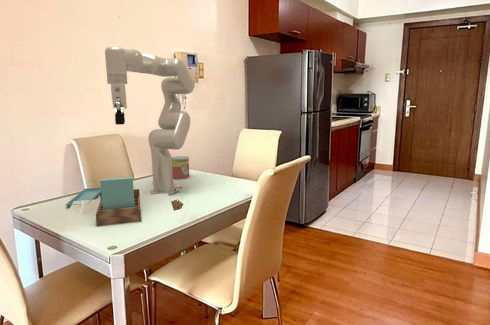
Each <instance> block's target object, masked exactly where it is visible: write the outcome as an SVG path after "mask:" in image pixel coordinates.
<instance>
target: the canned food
mask: <svg viewBox="0 0 490 325" xmlns="http://www.w3.org/2000/svg"><path fill="white" fill-rule="evenodd" d="M171 157H172V177H173V179H174V180H175V181H182V180H181V179H184V180H188V179H190V178H189V177H190V159H189V158H190V157H189V156H183V155H179V156H178V155H177V156H171ZM187 178H188V179H187ZM174 180H173V181H174Z"/></svg>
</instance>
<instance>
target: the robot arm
mask: <svg viewBox="0 0 490 325" xmlns="http://www.w3.org/2000/svg"><path fill="white" fill-rule="evenodd" d="M104 56H105V57H104V58H105V70H106V82H107V84H108V85H110V92H111V94H110V95H111V101H112V107H113V109H114V111H115V112H114V123H115V125H117V126H119V125H125V123H126V121H125V120H126V119H125V113H124V110H126V109H127V108H128V105H127V93H126V86H125V85H128V72H129V73H130V72H131V73H139V74H144V75H145V74H147V75H153V76H158V77H163V79H162V80H161V83H160V84H161V85H160V86H161V87H160V88H161V92H162V95H163V98H164V104H163V107H162V109H161V112H160V115H159V117H158V122H157V125H158V126H159V128H156V129H152V130H151V131H150V132H149V134H148V139H147V140H148V145H149V149H150V154H151V169H152V170H151V172H152V187H153V188H152V189H151V190H150V195H159V194H161V195H162V194H167V195H168V196H170V195H174V194H176V193H177V189H183V184H182V183H181V184H180V183H174V180H173V177H172V157H173V156H172V154H171V153H170V151H169V150H180V149H182V148H183V146H184V144H185V142H186V140H187V137H188V133H189V130H190V126H191V116H190V114H189V113H188V112H187V111H184V110H181V109H182V103H181V101H180V99H179V98H178V96H177V95H190V94H191V93H193V92H194V88H195V85H194V81H193V78H192V76H191V74H190V72H189V70H188V68H187V66H186V64H185V63H184V62H183V60H181V59H180V58H178V57H171V58H164V57H160V56H158V55H157V56H156V55H153V54H148V53H142V52H140V51H139V50H137V49H134V48H130V49H127V48H123V47H119V46H109V47H105V51H104ZM164 77H165V78H164Z"/></svg>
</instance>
